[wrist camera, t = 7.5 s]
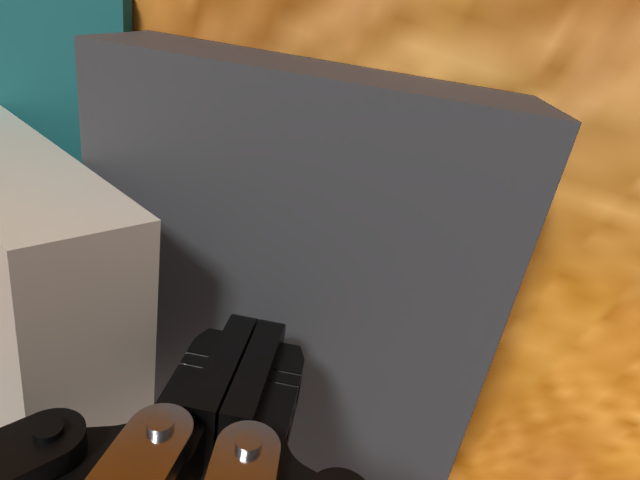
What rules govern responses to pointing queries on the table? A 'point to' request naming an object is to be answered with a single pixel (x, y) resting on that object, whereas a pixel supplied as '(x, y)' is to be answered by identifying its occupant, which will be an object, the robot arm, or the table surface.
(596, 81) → the table surface
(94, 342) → the white rectangular block
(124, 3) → the mat
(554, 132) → the grey flat block
